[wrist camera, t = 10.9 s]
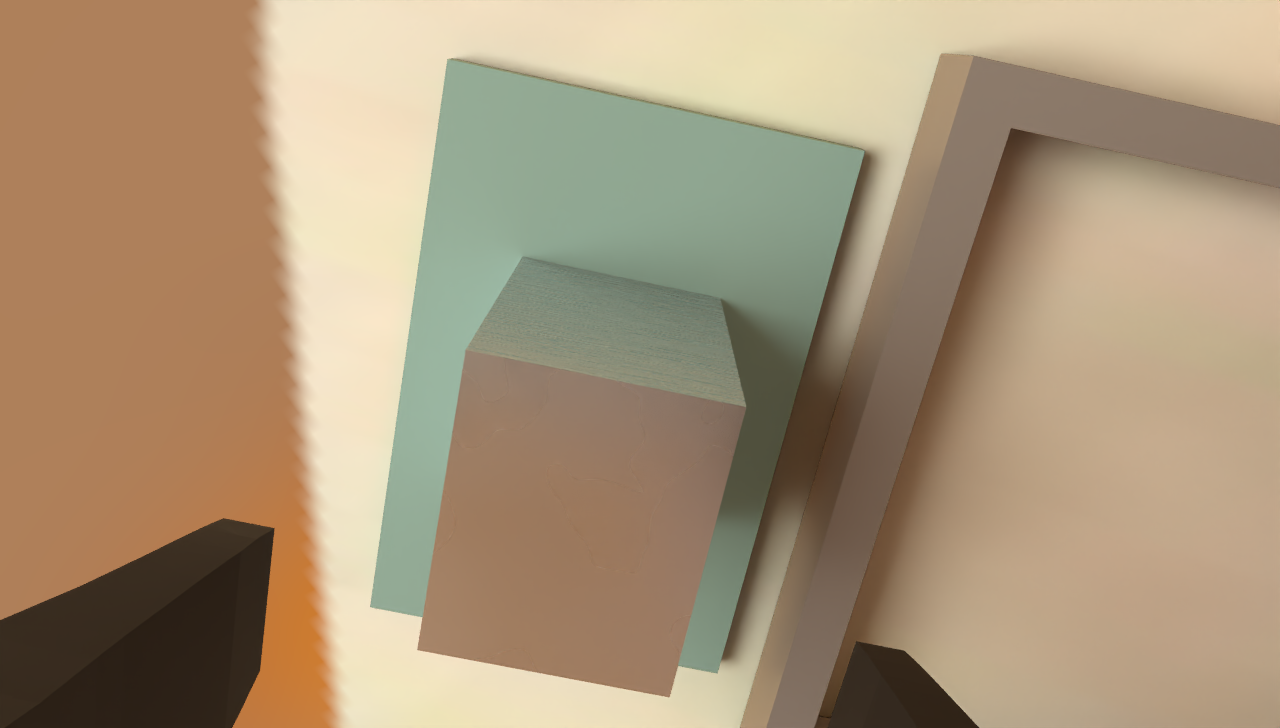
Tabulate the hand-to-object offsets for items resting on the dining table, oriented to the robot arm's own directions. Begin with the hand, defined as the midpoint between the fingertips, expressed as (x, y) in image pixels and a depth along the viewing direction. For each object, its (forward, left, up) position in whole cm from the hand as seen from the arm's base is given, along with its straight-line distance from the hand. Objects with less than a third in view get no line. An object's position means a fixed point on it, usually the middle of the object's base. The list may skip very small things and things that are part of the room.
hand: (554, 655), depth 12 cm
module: (0, 0, -9) cm, 9 cm away
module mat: (0, 0, -9) cm, 9 cm away
